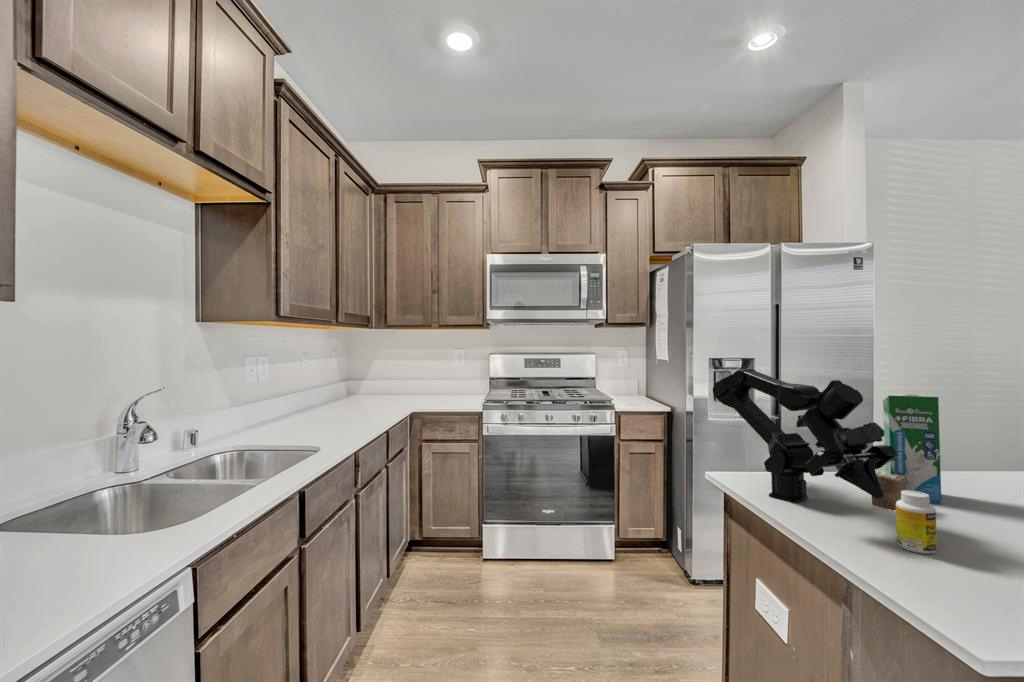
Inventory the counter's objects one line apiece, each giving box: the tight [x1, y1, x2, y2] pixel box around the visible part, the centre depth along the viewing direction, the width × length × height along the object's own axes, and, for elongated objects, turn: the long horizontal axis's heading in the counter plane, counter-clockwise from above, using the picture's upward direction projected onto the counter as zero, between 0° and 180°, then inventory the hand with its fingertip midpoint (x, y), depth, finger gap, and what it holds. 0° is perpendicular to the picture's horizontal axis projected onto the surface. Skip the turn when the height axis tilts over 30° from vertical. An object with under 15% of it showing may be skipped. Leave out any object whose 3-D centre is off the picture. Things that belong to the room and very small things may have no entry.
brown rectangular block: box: [871, 471, 906, 511], centre depth 105 cm, size 5×5×7 cm
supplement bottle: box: [895, 490, 937, 555], centre depth 84 cm, size 6×6×10 cm
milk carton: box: [882, 393, 942, 504], centre depth 112 cm, size 9×9×25 cm
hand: (880, 497), depth 90 cm, fingers closed
